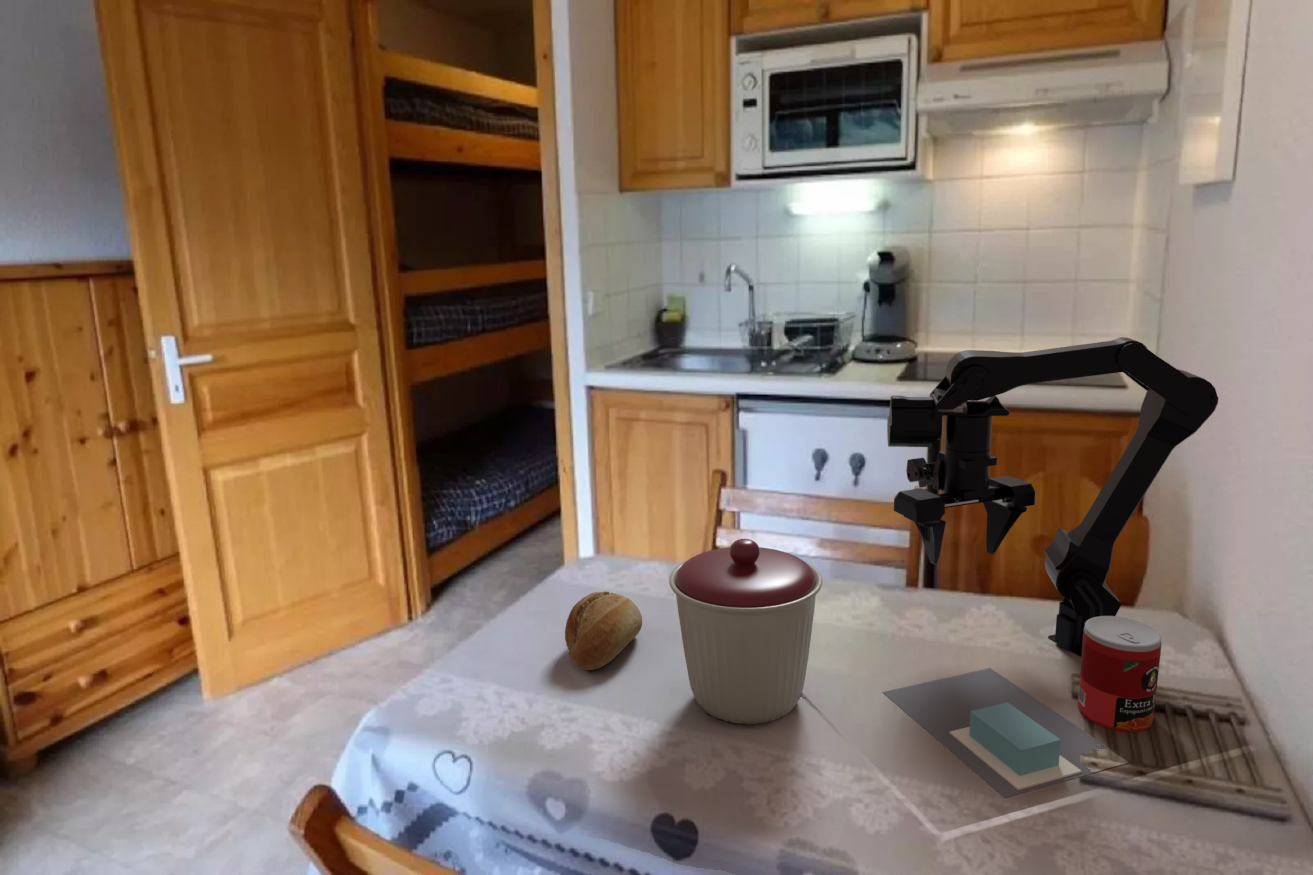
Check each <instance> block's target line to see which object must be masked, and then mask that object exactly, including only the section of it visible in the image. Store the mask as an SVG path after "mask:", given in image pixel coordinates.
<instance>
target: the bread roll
mask: <svg viewBox="0 0 1313 875" xmlns="http://www.w3.org/2000/svg"><path fill="white" fill-rule="evenodd" d="M642 627H643V616H642V613H641V611H640V609H639V608H638V606H637V605H636V603H635V602H633V601H632V599H630V597H627V596H624V595H621V594H618V593H615V592H610V591H597V592H596V591H595V592H591V593H589V594H588V595H586V596H584V597H582V598H581V599H580V600H579V601H578V602H576V603H575V604H574V605H573V607H572V608H571V610H570V611H569V614H568V616H567V620H566V623H565V628H564V629H565V630H564V639H565V644H566V647H567V650H568V653H569V654H568V655H569V656H570V657H571V659H572V661H573V662H574V663H575V665H577V666H578V667H579V668H581V669H583V670H587V671H594V670H597V669H601V668H602V667H604V666H606V665H607V664H609V663H610V662H611V661H612V660H614V659H615V657H617V655H619V654H620V652H621V651H623V649H624V648H625V647H627V645H629V643H630V642H632V640H634V639H635V638H636V636H638V634H639V633H640V631H642V630H641V629H642Z"/></svg>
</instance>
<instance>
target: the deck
mask: <svg viewBox="0 0 1313 875" xmlns="http://www.w3.org/2000/svg"><path fill="white" fill-rule="evenodd" d="M969 736H971V737H972V738H973V739H974V740H976V741H977V742H978V743H979V744H981V745H982V746H983V747H984V748H986V749H987V750H988V751H989V752H991V753H992V754H993V755H994V756H995V757H997V758H998V759H999V760H1000V761H1002V762H1003V763H1004V764H1005V765H1007V766H1008V767H1009V768H1010V769H1012V770H1013V771H1014V772H1015V773H1017V774H1018V775H1019V776H1022V775H1025V774H1029V773H1033V772H1036V771H1040V770H1044V769H1047V768H1051V767H1055V766H1058V765H1059V757H1060V745H1061V740H1060V739H1059V738H1058V737H1056V736H1055V735H1053V734H1052V733H1050V732H1049V731H1048V730H1046V729H1045V728H1043V727H1042V726H1041V725H1039V724H1038V723H1036V722H1035V721H1033V720H1032V719H1031V718H1029V717H1028V716H1026V715H1025V714H1024V713H1022V712H1021V711H1019V710H1018V709H1016V708H1015V707H1014V706H1012V705H1011V704H1009V703H1008V702H1007V703H1003V704H998V705H994V706H990V707H986V708H982V709H978V710H974V711H970V730H969Z"/></svg>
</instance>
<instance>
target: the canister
mask: <svg viewBox="0 0 1313 875" xmlns="http://www.w3.org/2000/svg"><path fill="white" fill-rule="evenodd" d="M668 580H669V582H668V584H669V587H670V588H671V590H672V592H673V594H675V597H676V598H675V599H676V605H677V611H678V612H677V613H678V618H679V625H680V631H681V632H680V633H681V640H682V646H683V652H684V658H685V659H684V660H685V664H686V669H687V675H688V682H689V686H690V690H691V692H692V694H693V696H694V699H695V700H696V702H697V704H698V705H699V706H700V707H701V709H703V710H704V711H705V712H706V713H708V714H709V715H711V716H712V717H715V718H717V719H719V720H724V721H725V722H731V723H732V724H736V723H737V724H740V725H744V724H746V725H751V724H753V725H754V724H755V725H757V724H765V723H767V722H772V721H774V720H779V719H780V718H782V717H784V716H785V715H787V714H789V713H790V712H791V711H792V710H793V709H794V708H795V707H796V705H797V704H798V703H799V701H800V699H801V697H802V693H803V689H804V686H805V681H806V675H807V668H808V663H809V654H810V646H811V640H812V630H813V623H814V615H815V608H816V607H815V606H816V596H817V594H819V593H820V590H821V588H822V586H823V576H822V574H821V572H820V571H819V569H817V568H816V567H814V566H813V564H810V563H809V562H807V561H804V560H803V559H802V558H800V557H798V556H796V555H794V554H791V553H790V552H789V553H788V552H785V551H782V550H778V549H775V548H768V547H760V546H759V545H758V543H757V542H755V541H754V540H753V539H750V538H740V539H736V540H735V541H734V542H732V544H731V545H730V546H729V547H722V548H717V549H716V548H715V549H711V550H707V551H704V552H701V553H699V554H696V555H694V556H692V557H690V558H689V559H687V560H685V561H684V562H682V563H680V564H679V565H677V566H676V567H675V568H674V569H673V570H672V572H671V573H670V575H669V578H668Z"/></svg>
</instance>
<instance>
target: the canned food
mask: <svg viewBox="0 0 1313 875" xmlns="http://www.w3.org/2000/svg"><path fill="white" fill-rule="evenodd" d="M1161 653H1162V635H1161V633H1159V631H1158V630H1157V629H1156V628H1154V627H1153V626H1150V625H1148V624H1146V623H1144V622H1141V621H1139V620H1136V619H1132V618H1128V617H1124V616H1117V615H1116V616H1098V617H1093V618H1091V619H1089V620H1087V621H1086V623H1085V627H1084V634H1083V644H1082V657H1081V658H1080V659H1081V660H1080V670H1079V671H1080V672H1079V682H1078V684H1079V686H1078V695H1077V696H1078V699H1077V705H1078V709H1079V712H1080V713H1081V715H1082V716H1083V717H1085V718H1086V719H1087V720H1088V721H1090V722H1091V723H1094V724H1095V725H1098V726H1100V727H1102V728H1104V729H1108V730H1111V731H1117V732H1121V733H1123V732H1124V733H1137V732H1139V733H1140V732H1143V731H1146V730H1147V729H1149V728H1150V727H1151V726H1152V724H1153V721H1154V716H1155V706H1156V697H1157V689H1158V680H1159V673H1160V672H1159V670H1160V662H1161Z"/></svg>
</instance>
